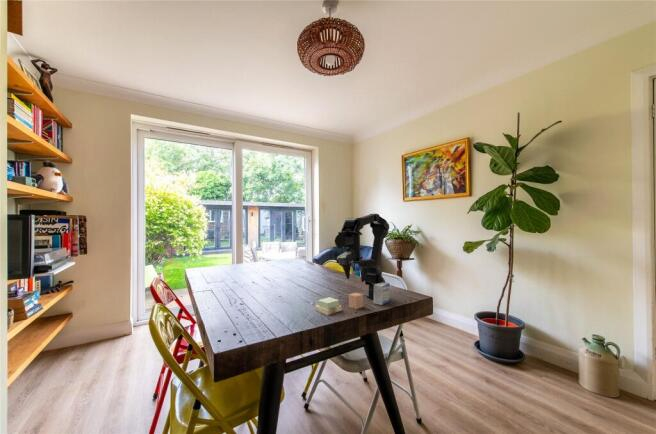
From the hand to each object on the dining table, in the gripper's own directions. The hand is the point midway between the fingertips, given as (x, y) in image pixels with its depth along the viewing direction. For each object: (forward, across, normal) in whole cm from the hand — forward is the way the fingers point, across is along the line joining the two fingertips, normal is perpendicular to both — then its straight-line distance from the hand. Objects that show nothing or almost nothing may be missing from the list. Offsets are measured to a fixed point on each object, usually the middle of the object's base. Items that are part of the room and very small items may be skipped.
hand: (355, 280), depth 116 cm
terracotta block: (+12, 0, 0) cm, 12 cm away
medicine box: (+12, +4, +12) cm, 18 cm away
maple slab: (+12, -5, -12) cm, 18 cm away
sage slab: (+10, -5, -12) cm, 16 cm away
